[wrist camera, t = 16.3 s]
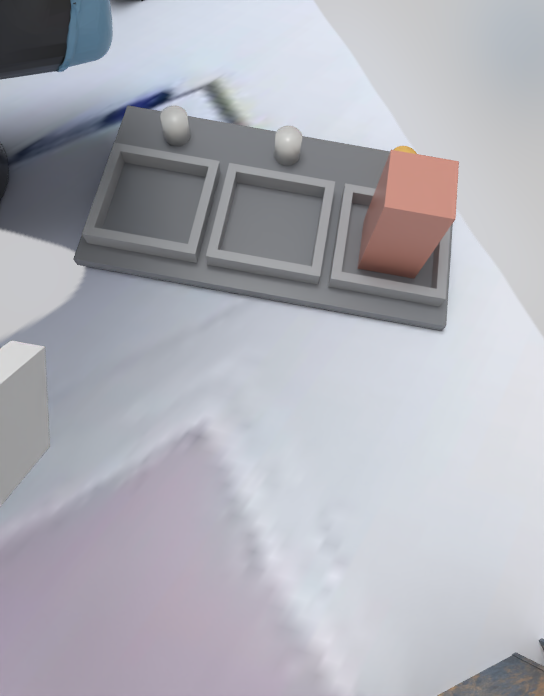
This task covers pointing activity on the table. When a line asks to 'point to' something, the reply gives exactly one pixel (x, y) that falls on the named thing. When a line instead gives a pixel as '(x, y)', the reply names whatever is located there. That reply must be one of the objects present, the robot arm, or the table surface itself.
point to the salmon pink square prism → (408, 213)
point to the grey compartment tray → (251, 217)
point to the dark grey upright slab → (504, 679)
